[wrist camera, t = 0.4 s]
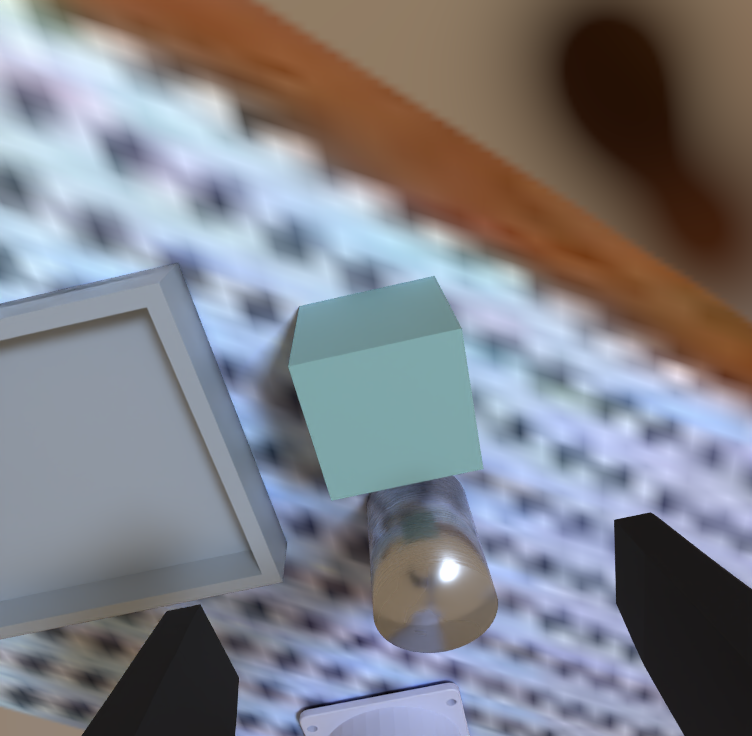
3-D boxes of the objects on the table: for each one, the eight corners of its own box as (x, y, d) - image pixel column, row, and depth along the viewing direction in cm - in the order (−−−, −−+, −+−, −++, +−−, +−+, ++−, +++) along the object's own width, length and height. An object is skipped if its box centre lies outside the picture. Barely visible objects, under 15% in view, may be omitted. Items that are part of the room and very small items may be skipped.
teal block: (454, 392, 20) (483, 468, 16) (333, 418, 20) (331, 500, 16) (433, 274, 18) (461, 328, 14) (299, 305, 18) (288, 366, 14)
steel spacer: (472, 532, 23) (504, 639, 18) (378, 551, 23) (387, 662, 18) (458, 456, 21) (490, 554, 17) (356, 477, 21) (360, 580, 17)
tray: (286, 543, 22) (282, 582, 21) (-82, 618, 23) (-117, 663, 21) (178, 262, 17) (159, 282, 15) (-299, 372, 18) (-370, 403, 16)
